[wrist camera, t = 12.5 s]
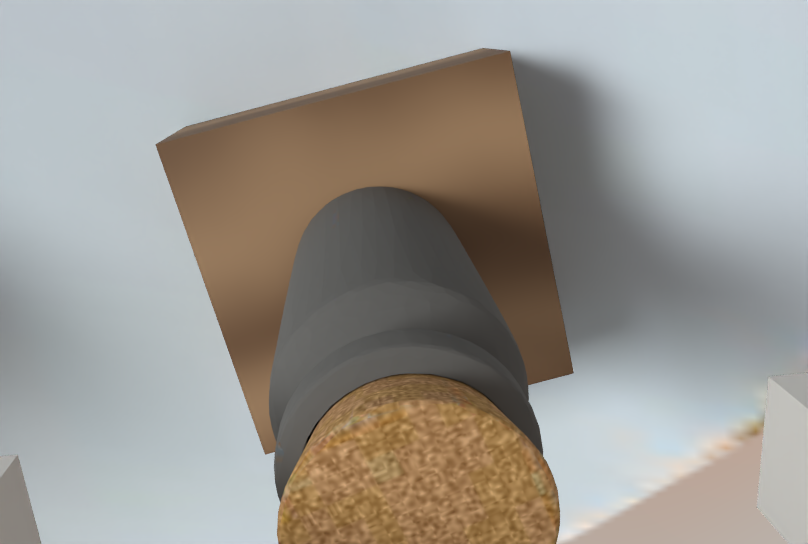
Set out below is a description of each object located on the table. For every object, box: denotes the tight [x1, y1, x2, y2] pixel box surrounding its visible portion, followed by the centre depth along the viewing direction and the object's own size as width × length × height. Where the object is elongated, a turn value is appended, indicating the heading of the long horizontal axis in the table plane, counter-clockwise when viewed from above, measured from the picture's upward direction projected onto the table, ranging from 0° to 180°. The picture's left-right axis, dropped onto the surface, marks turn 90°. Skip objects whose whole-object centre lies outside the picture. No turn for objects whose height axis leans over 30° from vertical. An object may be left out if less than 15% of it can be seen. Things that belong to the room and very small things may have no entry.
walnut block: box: [156, 48, 574, 454], centre depth 29 cm, size 12×12×5 cm
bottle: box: [269, 187, 560, 544], centre depth 20 cm, size 6×6×15 cm
